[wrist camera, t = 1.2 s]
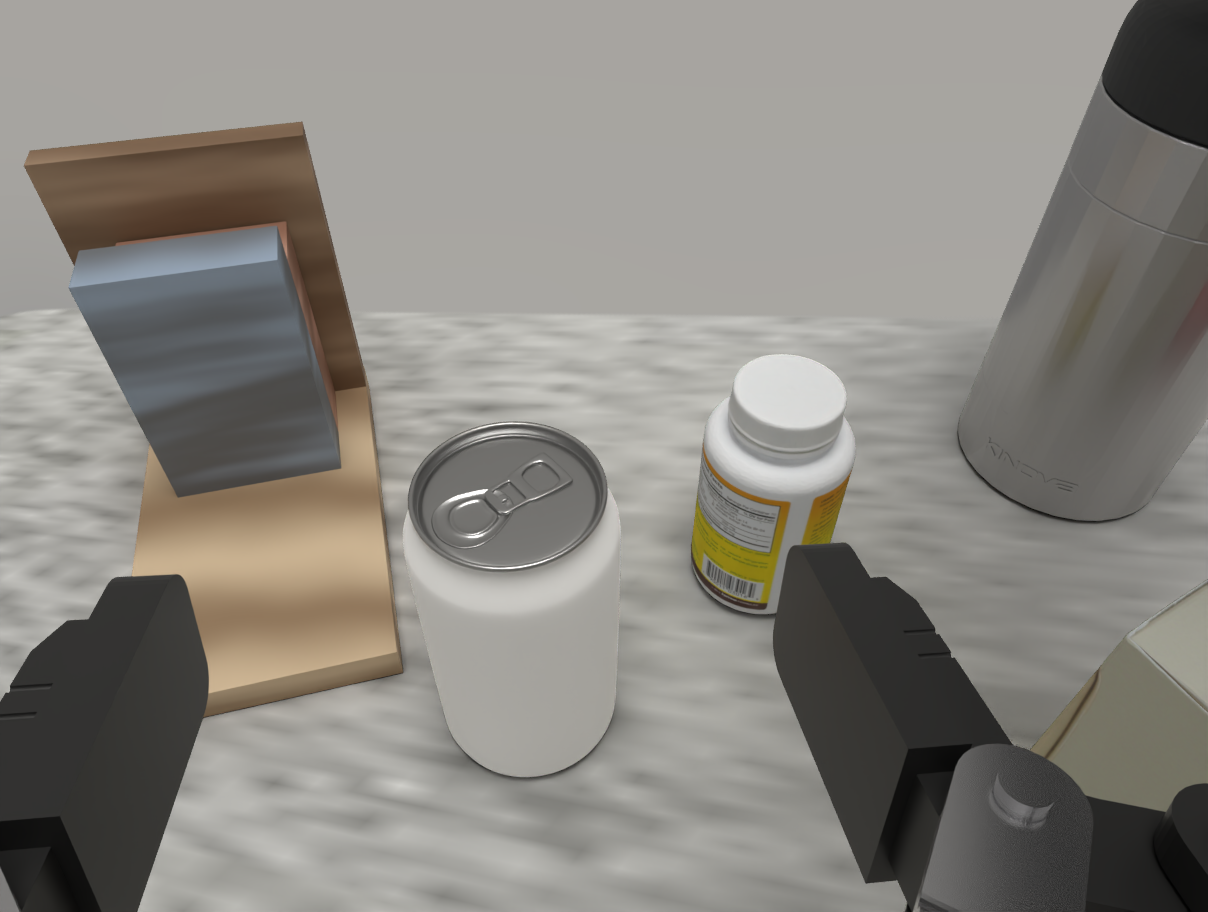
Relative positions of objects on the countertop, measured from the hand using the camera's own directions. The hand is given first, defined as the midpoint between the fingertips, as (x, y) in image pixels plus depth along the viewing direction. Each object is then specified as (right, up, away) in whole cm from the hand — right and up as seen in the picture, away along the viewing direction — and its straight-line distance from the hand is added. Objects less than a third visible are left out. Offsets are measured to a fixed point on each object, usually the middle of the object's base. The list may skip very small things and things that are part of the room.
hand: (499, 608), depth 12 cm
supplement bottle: (+8, -3, +26) cm, 27 cm away
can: (-1, -7, +21) cm, 23 cm away
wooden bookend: (-13, -1, +27) cm, 30 cm away
